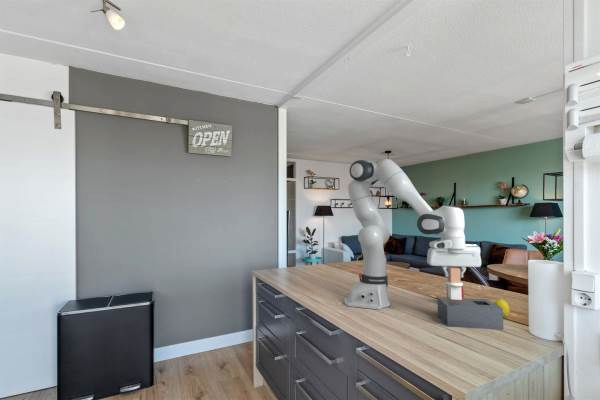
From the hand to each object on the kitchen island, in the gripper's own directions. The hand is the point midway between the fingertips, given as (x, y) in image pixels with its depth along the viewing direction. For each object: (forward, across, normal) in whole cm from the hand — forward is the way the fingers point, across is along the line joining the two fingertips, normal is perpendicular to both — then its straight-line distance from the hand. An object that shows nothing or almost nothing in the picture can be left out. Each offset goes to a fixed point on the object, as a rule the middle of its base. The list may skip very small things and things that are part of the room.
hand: (453, 277), depth 116 cm
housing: (+18, -5, 0) cm, 19 cm away
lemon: (+18, -21, -7) cm, 29 cm away
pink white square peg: (+9, 0, 0) cm, 9 cm away
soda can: (+18, -7, -19) cm, 27 cm away
